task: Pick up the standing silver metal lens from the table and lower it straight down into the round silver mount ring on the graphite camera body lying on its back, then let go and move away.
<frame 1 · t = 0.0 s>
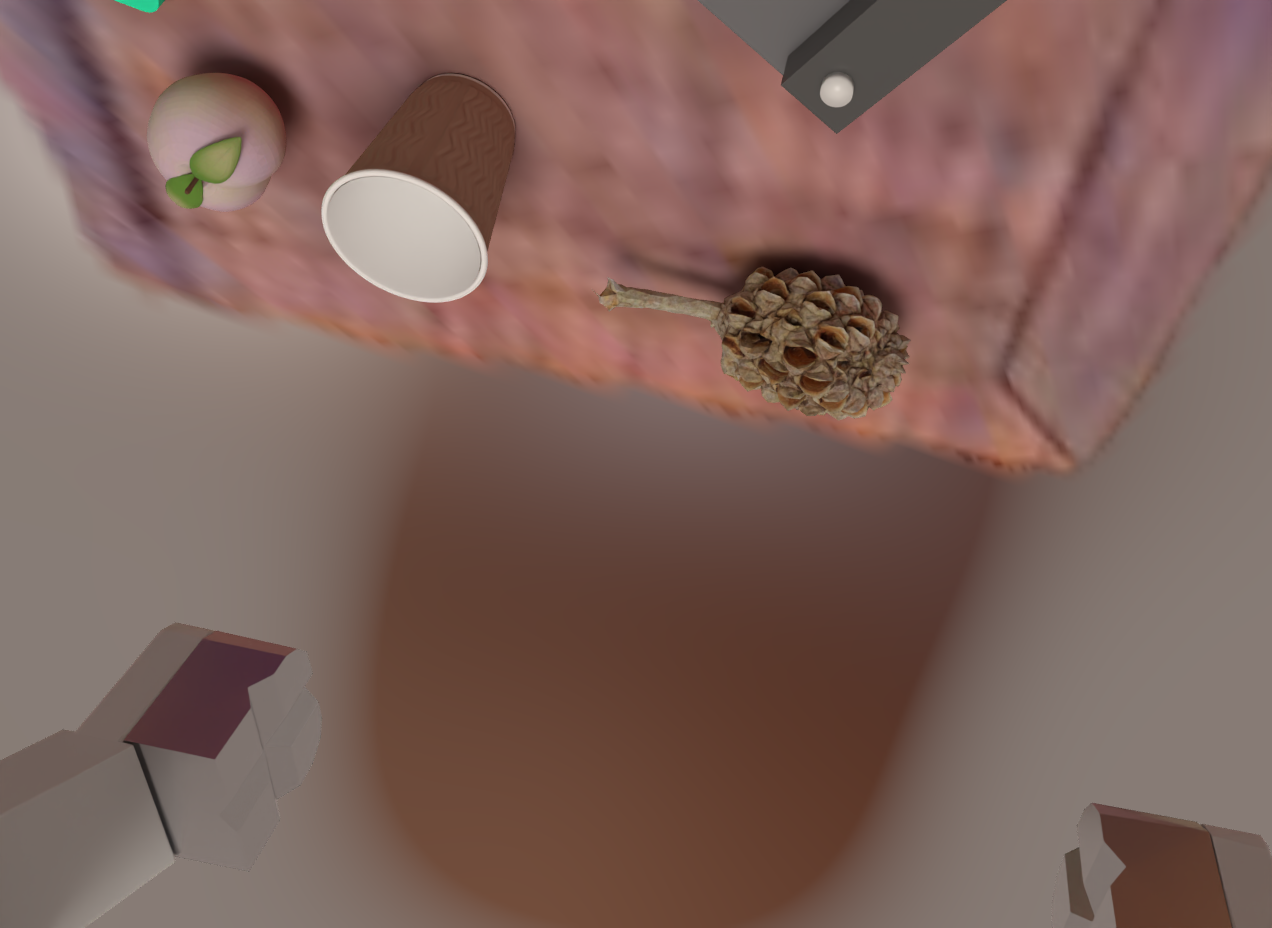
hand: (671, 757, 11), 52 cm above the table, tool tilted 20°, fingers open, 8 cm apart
pine cone: (760, 278, 78), on the table
decorative fruit: (249, 92, 74), on the table
coffee cup: (466, 116, 72), on the table
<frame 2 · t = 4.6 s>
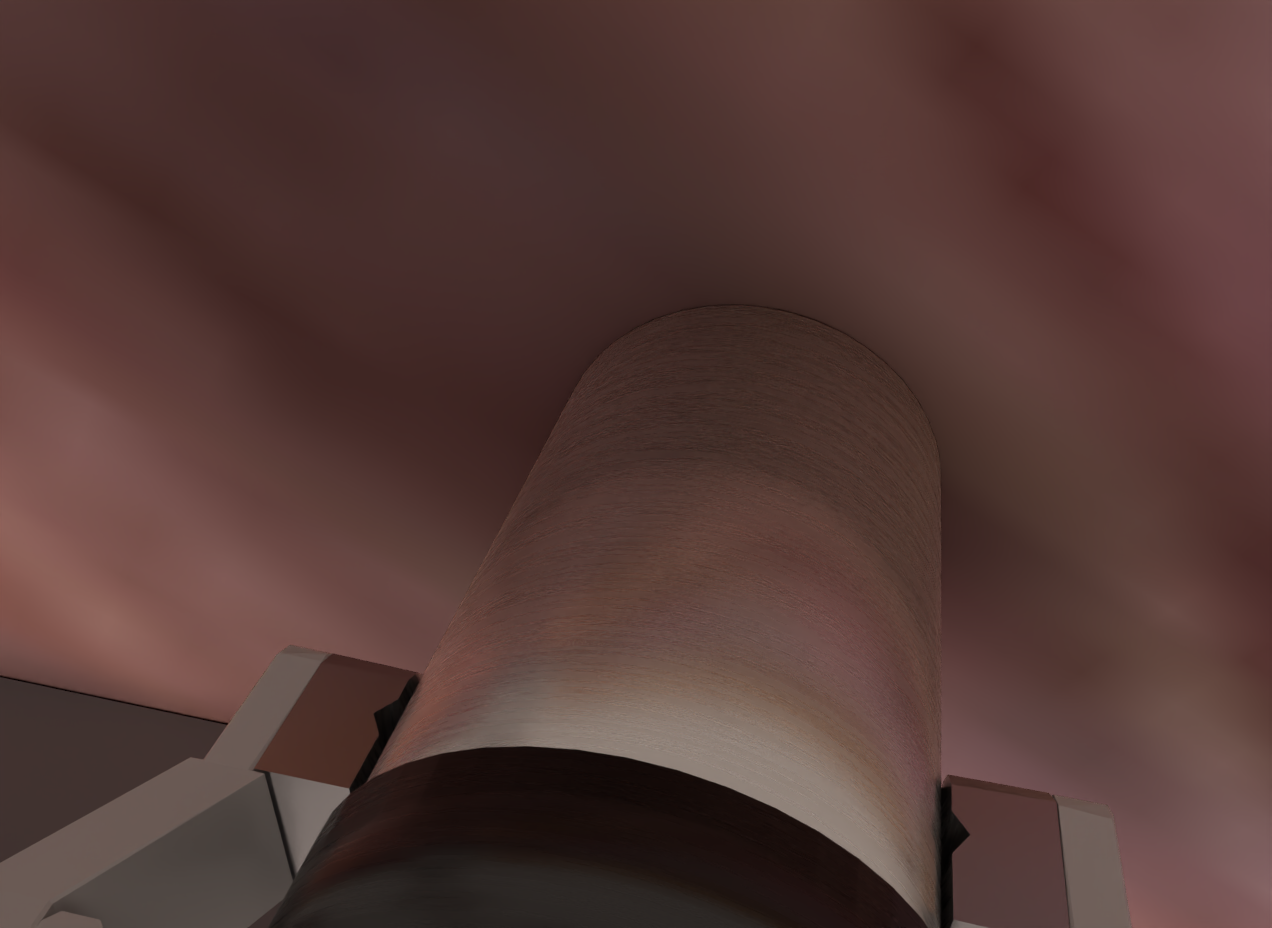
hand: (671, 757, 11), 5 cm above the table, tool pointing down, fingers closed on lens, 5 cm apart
lens: (743, 477, 15), on the table, touching gripper
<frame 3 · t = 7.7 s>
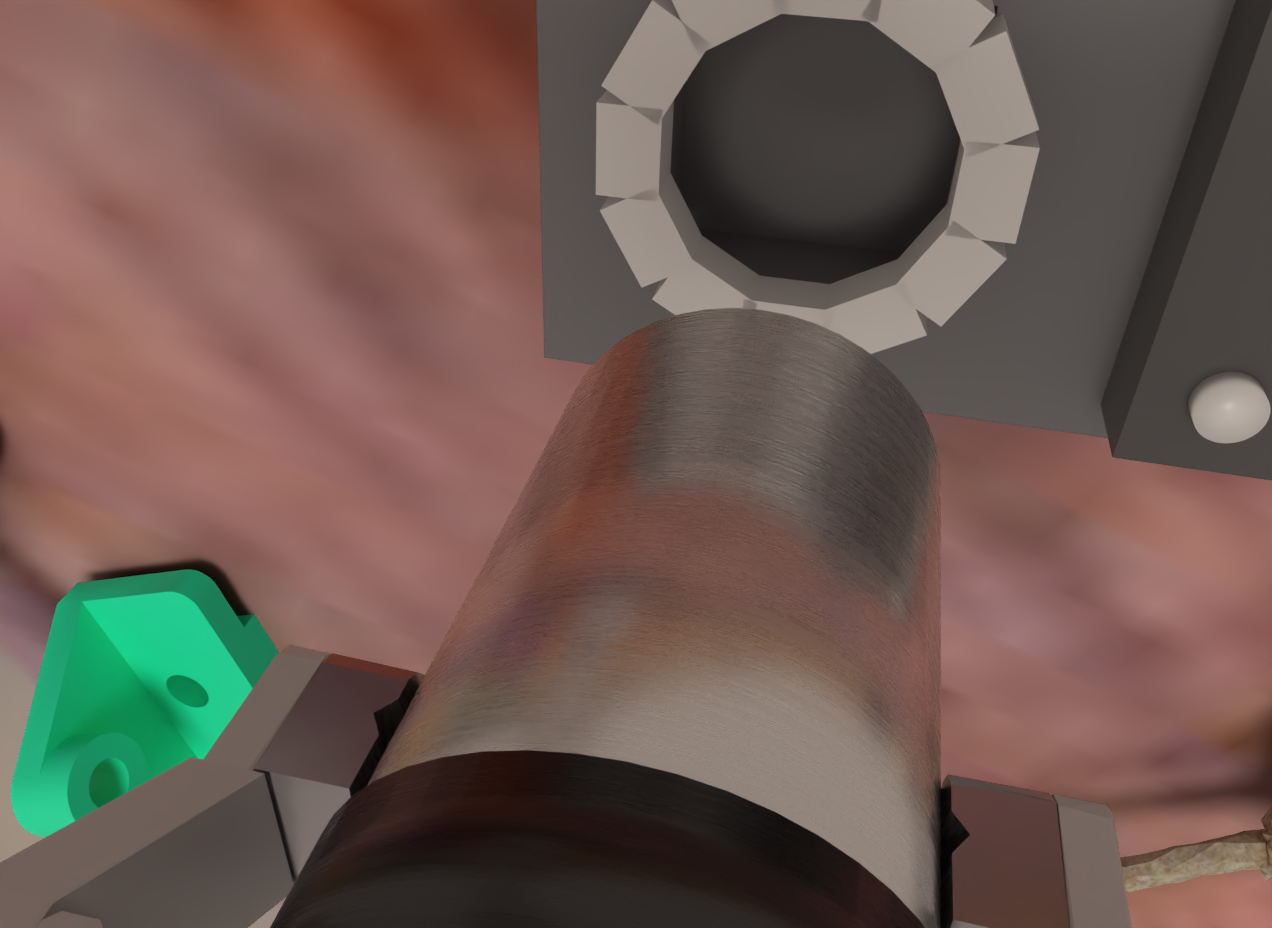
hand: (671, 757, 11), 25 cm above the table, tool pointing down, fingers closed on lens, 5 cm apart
lens: (743, 480, 15), point 20 cm above the table, touching gripper
camera body: (934, 91, 31), on the table
camera mount: (218, 649, 54), on the table
when the fingers open (10 cm above the table, at t = 11.2 s): lens drops 1 cm, resting on camera body.
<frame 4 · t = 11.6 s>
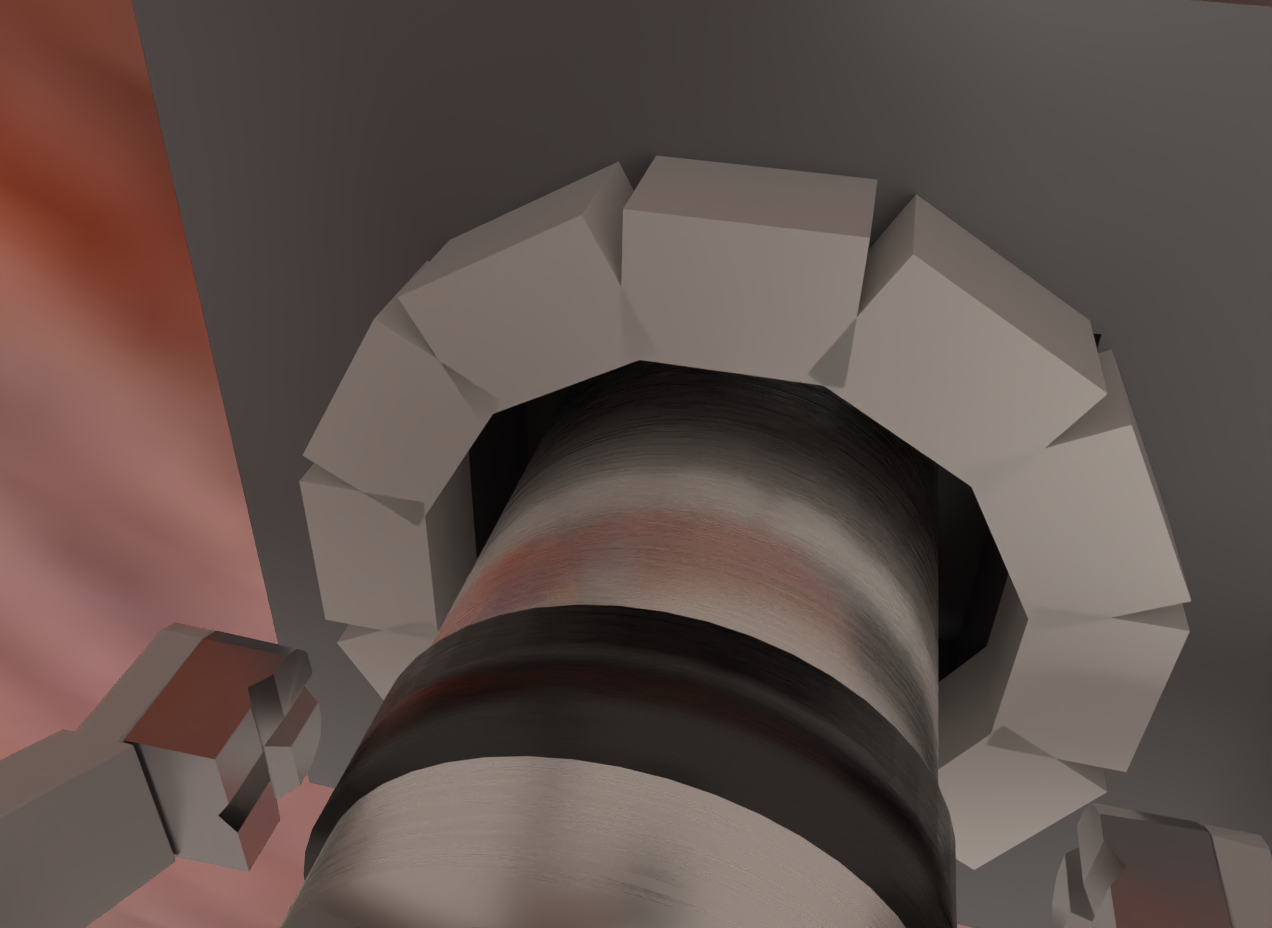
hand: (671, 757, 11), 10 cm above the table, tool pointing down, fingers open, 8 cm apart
lens: (754, 419, 17), point 3 cm above the table, touching camera body
camera body: (956, 356, 18), on the table
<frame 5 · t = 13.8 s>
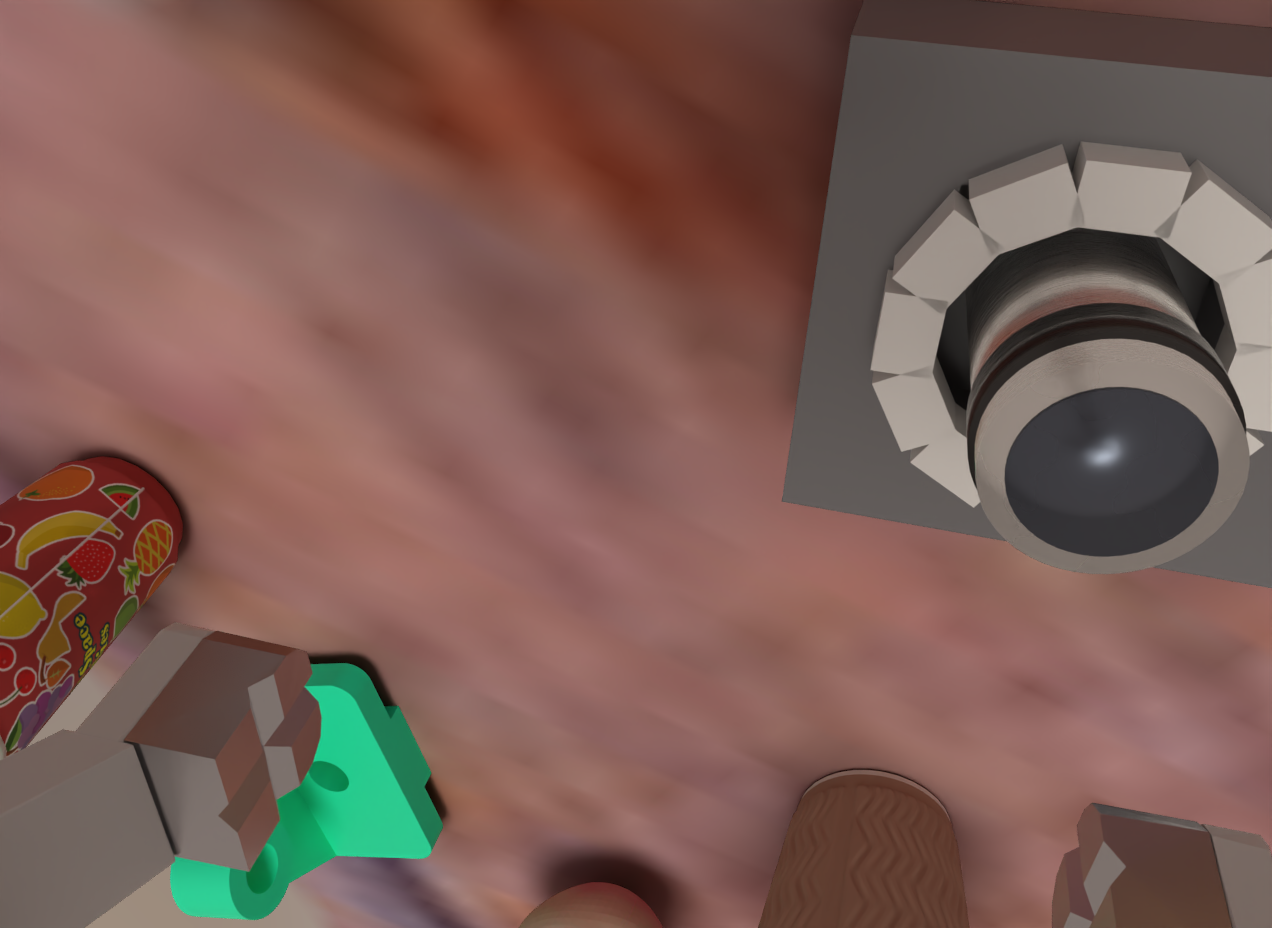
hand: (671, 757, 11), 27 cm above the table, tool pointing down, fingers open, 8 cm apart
lens: (1063, 288, 31), point 3 cm above the table, touching camera body
camera body: (1157, 264, 33), on the table
decorative fruit: (614, 887, 58), on the table
coffee cup: (874, 816, 50), on the table
smoothie: (131, 504, 51), on the table
camera mount: (354, 734, 56), on the table
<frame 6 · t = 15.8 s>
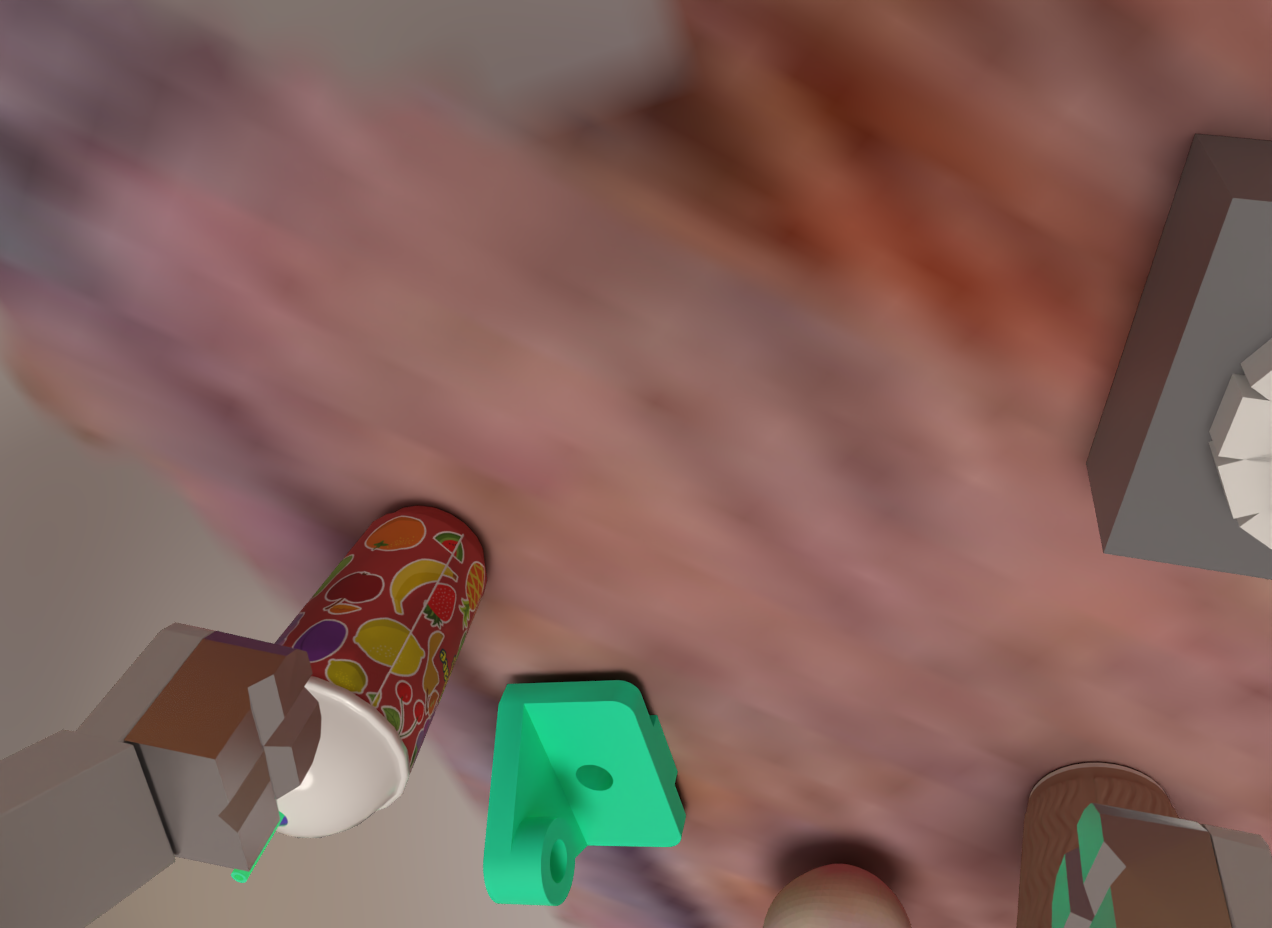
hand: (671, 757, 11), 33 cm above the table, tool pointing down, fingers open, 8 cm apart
decorative fruit: (841, 867, 65), on the table
coffee cup: (1097, 802, 57), on the table
smoothie: (435, 544, 57), on the table
camera mount: (606, 739, 63), on the table
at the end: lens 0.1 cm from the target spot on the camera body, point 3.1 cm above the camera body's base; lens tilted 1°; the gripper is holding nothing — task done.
